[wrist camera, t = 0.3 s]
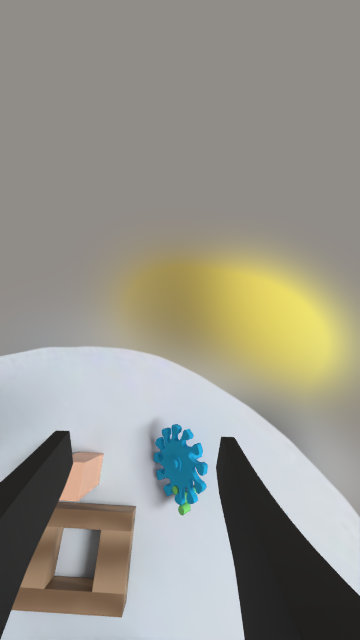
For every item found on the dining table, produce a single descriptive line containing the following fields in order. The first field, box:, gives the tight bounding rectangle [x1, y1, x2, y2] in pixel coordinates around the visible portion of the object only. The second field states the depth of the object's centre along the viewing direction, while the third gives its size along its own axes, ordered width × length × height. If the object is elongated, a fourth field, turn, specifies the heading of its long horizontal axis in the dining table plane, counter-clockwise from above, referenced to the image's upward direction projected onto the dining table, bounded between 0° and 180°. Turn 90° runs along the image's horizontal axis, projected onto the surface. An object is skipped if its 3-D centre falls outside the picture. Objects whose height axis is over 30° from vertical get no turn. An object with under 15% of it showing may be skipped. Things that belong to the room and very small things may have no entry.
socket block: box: [11, 502, 136, 617], centre depth 31 cm, size 10×14×2 cm
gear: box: [154, 424, 208, 515], centre depth 34 cm, size 11×6×10 cm
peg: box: [59, 452, 104, 501], centre depth 32 cm, size 4×4×8 cm
